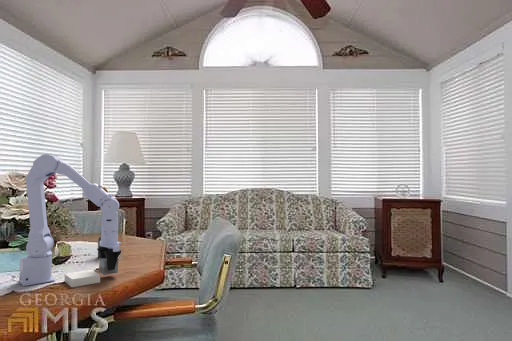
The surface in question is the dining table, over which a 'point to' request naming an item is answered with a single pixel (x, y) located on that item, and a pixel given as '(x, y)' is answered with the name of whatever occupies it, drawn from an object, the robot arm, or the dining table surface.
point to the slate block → (104, 269)
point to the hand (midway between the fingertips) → (108, 268)
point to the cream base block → (82, 278)
